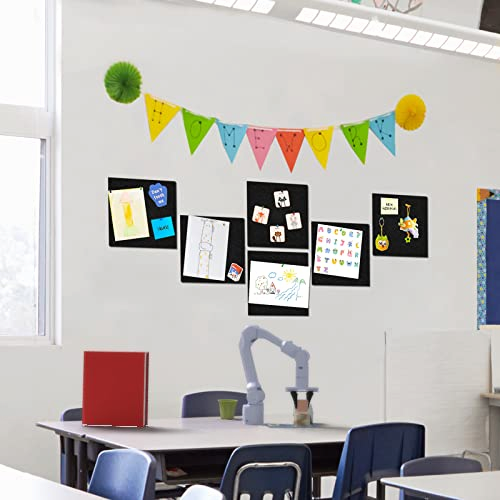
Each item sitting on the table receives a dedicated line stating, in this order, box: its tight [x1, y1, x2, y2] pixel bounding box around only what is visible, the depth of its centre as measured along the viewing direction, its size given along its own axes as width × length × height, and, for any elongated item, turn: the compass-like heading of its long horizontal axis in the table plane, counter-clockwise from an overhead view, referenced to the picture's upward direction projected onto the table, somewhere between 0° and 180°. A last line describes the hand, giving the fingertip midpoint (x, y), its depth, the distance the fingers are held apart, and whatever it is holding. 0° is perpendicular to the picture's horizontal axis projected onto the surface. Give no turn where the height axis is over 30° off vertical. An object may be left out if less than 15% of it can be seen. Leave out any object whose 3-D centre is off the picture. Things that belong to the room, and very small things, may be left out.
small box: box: [292, 403, 314, 424], centre depth 454 cm, size 8×6×10 cm
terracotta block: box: [296, 398, 308, 412], centre depth 445 cm, size 4×4×5 cm
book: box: [81, 350, 150, 428], centre depth 436 cm, size 27×8×32 cm, turn 83°
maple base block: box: [293, 414, 311, 426], centre depth 444 cm, size 6×6×5 cm
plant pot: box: [217, 399, 239, 420], centre depth 476 cm, size 9×9×9 cm
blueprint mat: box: [264, 423, 325, 429], centre depth 442 cm, size 24×16×1 cm, turn 99°
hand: (301, 408), depth 445 cm, fingers closed on terracotta block, 4 cm apart
